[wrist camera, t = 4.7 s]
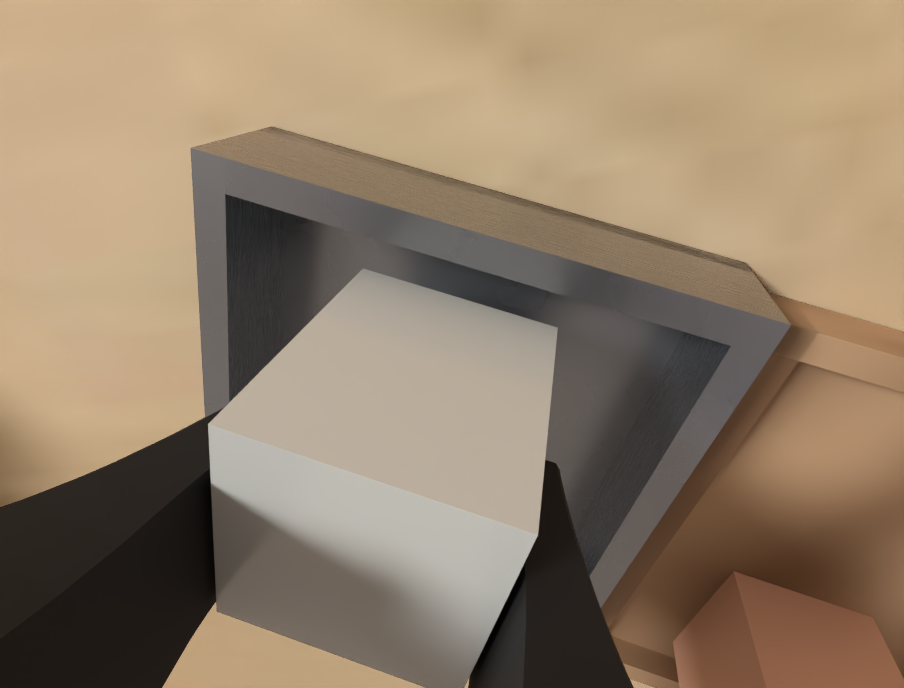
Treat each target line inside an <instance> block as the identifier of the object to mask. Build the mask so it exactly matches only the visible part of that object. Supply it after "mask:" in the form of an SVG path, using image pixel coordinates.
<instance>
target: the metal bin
mask: <svg viewBox="0 0 904 688" xmlns="http://www.w3.org/2000/svg"><path fill="white" fill-rule="evenodd" d="M191 163H192V182H193V200H194V219H195V238H196V256H197V275H198V294H199V313H200V331H201V350H202V369H203V387H204V406H205V417H207V416H209V415H211V414H213V413H214V412H216V411H218V410H220V409H222V408H224V407H225V406H227V405H228V404H229V403H230V402H231V401H232V400H233V399H234V398H235V397H236V396H237V395H238V394H239V393H240V392H241V391H242V390H243V389H244V388H245V387H246V386H247V385H248V383H249V382H250V381H251V380H252V379H253V378H254V377H255V376H256V375H257V374H258V373H259V372H260V371H261V370H262V369H263V368H264V367H265V366H266V365H267V364H268V363H269V362H270V361H271V360H272V359H273V358H274V357H275V356H276V355H277V354H278V353H279V352H280V351H281V350H282V349H283V348H284V347H285V346H286V345H287V344H288V343H289V342H290V341H291V340H292V339H293V338H294V337H295V336H296V335H297V334H298V333H299V332H300V331H301V330H302V329H303V328H304V327H305V326H306V325H307V324H308V323H309V322H310V321H311V320H312V319H313V318H314V317H315V316H316V315H317V314H318V313H319V312H320V311H321V310H322V309H323V308H324V307H325V306H326V305H327V304H328V303H329V302H330V301H331V300H332V299H333V298H334V297H335V296H336V295H337V294H338V293H339V292H340V291H341V290H342V289H343V288H344V287H345V286H346V285H347V284H348V283H349V282H350V281H351V280H352V279H353V278H354V277H355V276H356V275H357V274H358V273H359V272H360V271H361V270H362V269H367V270H370V271H373V272H376V273H380V274H383V275H386V276H390V277H393V278H396V279H399V280H403V281H406V282H409V283H413V284H416V285H419V286H422V287H426V288H429V289H432V290H436V291H439V292H442V293H445V294H449V295H452V296H455V297H459V298H462V299H465V300H468V301H472V302H475V303H478V304H482V305H485V306H488V307H491V308H495V309H498V310H501V311H505V312H508V313H511V314H514V315H518V316H521V317H524V318H528V319H531V320H534V321H537V322H541V323H544V324H547V325H551V326H554V327H557V328H558V331H557V341H556V352H555V362H554V373H553V383H552V394H551V404H550V415H549V425H548V436H547V446H546V457H545V460H548V461H551V462H554V463H556V464H557V466H558V468H559V469H560V474H561V479H562V483H563V488H564V492H565V496H566V500H567V504H568V508H569V512H570V515H571V519H572V522H573V526H574V529H575V533H576V536H577V540H578V543H579V546H580V549H581V552H582V555H583V558H584V561H585V564H586V567H587V570H588V573H589V576H590V579H591V582H592V585H593V588H594V591H595V594H596V597H597V599H598V602H599V605H600V608H601V607H602V606H603V604H604V603H605V601H606V600H607V598H608V597H609V595H610V594H611V592H612V591H613V589H614V588H615V586H616V585H617V583H618V582H619V580H620V579H621V577H622V576H623V574H624V573H625V571H626V570H627V568H628V567H629V565H630V564H631V563H632V561H633V560H634V558H635V557H636V555H637V554H638V552H639V551H640V549H641V548H642V546H643V545H644V543H645V542H646V540H647V539H648V537H649V536H650V534H651V533H652V531H653V530H654V528H655V527H656V525H657V524H658V522H659V521H660V519H661V518H662V516H663V515H664V513H665V512H666V511H667V509H668V508H669V506H670V505H671V503H672V502H673V500H674V499H675V497H676V496H677V494H678V493H679V491H680V490H681V488H682V487H683V485H684V484H685V482H686V481H687V479H688V478H689V476H690V475H691V473H692V472H693V470H694V469H695V467H696V466H697V464H698V463H699V461H700V460H701V458H702V457H703V456H704V454H705V453H706V451H707V450H708V448H709V447H710V445H711V444H712V442H713V441H714V439H715V438H716V436H717V435H718V433H719V432H720V430H721V429H722V427H723V426H724V424H725V423H726V421H727V420H728V418H729V417H730V415H731V414H732V412H733V411H734V409H735V408H736V406H737V405H738V404H739V402H740V401H741V399H742V398H743V396H744V395H745V393H746V392H747V390H748V389H749V387H750V386H751V384H752V383H753V381H754V380H755V378H756V377H757V375H758V374H759V372H760V371H761V369H762V368H763V366H764V365H765V363H766V362H767V360H768V359H769V357H770V356H771V354H772V353H773V351H774V350H775V349H776V347H777V346H778V344H779V343H780V341H781V340H782V338H783V337H784V335H785V334H786V332H787V331H788V329H789V328H790V326H791V324H790V322H789V321H788V320H787V318H786V317H785V316H784V314H783V313H782V312H781V310H780V309H779V307H778V306H777V305H776V303H775V302H774V301H773V299H772V298H771V296H770V295H769V294H768V292H767V291H766V290H765V288H764V287H763V285H762V284H761V283H760V281H759V280H758V279H757V277H756V276H755V274H754V273H753V272H752V270H751V269H750V268H749V266H748V265H747V263H744V262H741V261H737V260H734V259H730V258H727V257H723V256H720V255H717V254H713V253H710V252H706V251H703V250H699V249H696V248H692V247H689V246H685V245H682V244H678V243H675V242H671V241H668V240H664V239H661V238H657V237H654V236H650V235H647V234H644V233H640V232H637V231H633V230H630V229H626V228H623V227H619V226H616V225H612V224H609V223H605V222H602V221H598V220H595V219H591V218H588V217H584V216H581V215H577V214H574V213H571V212H567V211H564V210H560V209H557V208H553V207H550V206H546V205H543V204H539V203H536V202H532V201H529V200H525V199H522V198H518V197H515V196H511V195H508V194H505V193H501V192H498V191H494V190H491V189H487V188H484V187H480V186H477V185H473V184H470V183H466V182H463V181H459V180H456V179H452V178H449V177H445V176H442V175H438V174H435V173H432V172H428V171H425V170H421V169H418V168H414V167H411V166H407V165H404V164H400V163H397V162H393V161H390V160H386V159H383V158H379V157H376V156H372V155H369V154H366V153H362V152H359V151H355V150H352V149H348V148H345V147H341V146H338V145H334V144H331V143H327V142H324V141H320V140H317V139H313V138H310V137H306V136H303V135H299V134H296V133H293V132H289V131H286V130H282V129H279V128H275V127H268V128H264V129H261V130H257V131H253V132H249V133H245V134H242V135H238V136H234V137H230V138H226V139H223V140H219V141H215V142H211V143H208V144H204V145H200V146H196V147H192V148H191Z"/></svg>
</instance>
